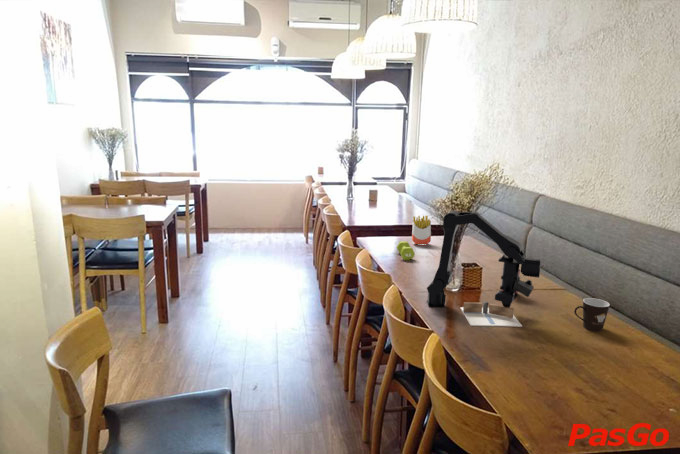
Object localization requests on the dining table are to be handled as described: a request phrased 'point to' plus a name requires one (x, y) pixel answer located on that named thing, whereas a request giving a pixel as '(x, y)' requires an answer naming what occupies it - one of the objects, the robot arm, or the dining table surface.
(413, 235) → the french fries container
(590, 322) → the coffee mug
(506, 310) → the fold panel
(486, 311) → the fixed panel
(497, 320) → the card
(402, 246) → the dumbbell
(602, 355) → the dining table surface
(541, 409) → the dining table surface
